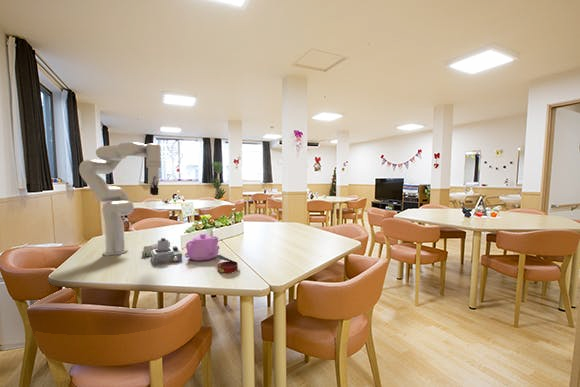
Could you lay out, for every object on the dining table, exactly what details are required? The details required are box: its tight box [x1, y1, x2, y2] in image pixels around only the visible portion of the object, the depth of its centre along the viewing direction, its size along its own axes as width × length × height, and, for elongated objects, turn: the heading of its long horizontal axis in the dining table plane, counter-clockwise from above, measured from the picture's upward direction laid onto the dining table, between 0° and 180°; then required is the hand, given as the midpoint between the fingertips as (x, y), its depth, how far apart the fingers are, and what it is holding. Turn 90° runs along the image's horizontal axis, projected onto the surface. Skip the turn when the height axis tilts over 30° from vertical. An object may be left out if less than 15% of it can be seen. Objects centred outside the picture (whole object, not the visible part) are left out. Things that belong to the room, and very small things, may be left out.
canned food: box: [216, 254, 239, 274], centre depth 127 cm, size 11×10×10 cm
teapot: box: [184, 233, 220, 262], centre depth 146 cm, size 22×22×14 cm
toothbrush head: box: [141, 240, 171, 257], centre depth 160 cm, size 5×7×25 cm
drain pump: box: [157, 237, 169, 253], centre depth 142 cm, size 5×5×8 cm
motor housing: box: [150, 245, 183, 266], centre depth 143 cm, size 16×14×6 cm
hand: (154, 194), depth 149 cm, fingers open, 9 cm apart
